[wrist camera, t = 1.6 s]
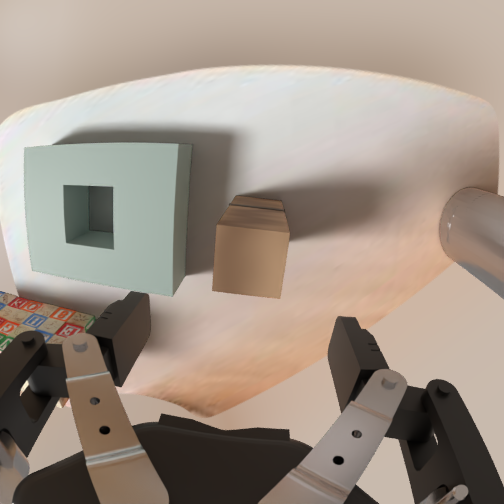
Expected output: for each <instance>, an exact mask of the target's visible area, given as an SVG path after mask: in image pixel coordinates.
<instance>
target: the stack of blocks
mask: <svg viewBox="0 0 504 504" xmlns="http://www.w3.org/2000/svg"><path fill="white" fill-rule="evenodd" d="M94 322H95V316H93V315H89V314H85V313H81V312H77V311H74V310H70V309H66V308H62V307H58V306H54V305H51V304H47V303H44V304H43V303H40V302H36V301H32V300H28V299H24V298H21V297H18V296H15V295H12V294H9V293H5V292H2V291H0V353H1V352H2V351H3V350H4V349H5V348H6V347H7V346H8V344H9V343H10V342H11V341H12V340H13V339H14V338H15V337H16V336H17V335H19V334H20V333H22V332H25V331H31V330H33V331H38V332H40V333H42V334H43V336H44V338H45V342H46V343H49V344H63V342H64V340H65V339H66V338H67V337H69V336H71V335H73V334H77V333H86V332H87V330H88V329H89V328H90V327H91V326H92V325H93V323H94ZM28 385H29V384H28V381H26V382H25V384H24V385H23V387H22V388H21V391H23V392H24V390H25V389H26V387H27V386H28ZM68 399H69V398H60V399H59V401H58V403H57V404H56V406H57V407H60V408H63V407H64V405H65V404H66V402H67V401H68Z"/></svg>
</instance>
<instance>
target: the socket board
mask: <svg viewBox="0 0 504 504" xmlns="http://www.w3.org/2000/svg"><path fill="white" fill-rule="evenodd" d="M192 146H193V144H174V143H82V144H62V145H48V146H36V147H25V148H24V197H25V215H26V227H27V237H28V246H29V254H30V261H31V268H32V271H35V272H40V273H44V274H49V275H54V276H58V277H63V278H68V279H73V280H78V281H83V282H89V283H94V284H99V285H105V286H110V287H116V288H122V289H128V290H134V291H140V292H146V293H152V294H158V295H165V296H171V297H173V295H174V294H175V292H176V290H177V289H178V287H179V285H180V284H181V282H182V281H183V279H184V277H185V267H186V238H187V217H188V199H189V184H190V170H191V158H192ZM89 186H108V187H113V229H114V233H110V232H101V231H92V230H89Z"/></svg>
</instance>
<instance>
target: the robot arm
mask: <svg viewBox="0 0 504 504" xmlns="http://www.w3.org/2000/svg"><path fill="white" fill-rule="evenodd" d="M440 241H441V245H442V247H443V250H444V251H445V253H446V254H447V256H448V257H450V258H451V259H452V260H453V261H455V262H456V263H457V264H459V265H460V266H462V267H463V268H464V269H466V270H467V271H468V272H469V273H471V274H472V275H473V276H475V277H476V278H477V279H479V280H480V281H481V282H483V283H484V284H485V285H487V286H488V287H489V288H490V289H492V290H493V291H494V292H495V293H497V294H498V295H499V296H500V297H502V298H503V299H504V197H503V196H500V195H497V194H494V193H491V192H487V191H484V190H480V189H477V188H465V189H462V190H460V191H458V192H457V193H456V194H455V195H454V196H452V197H451V199H450V200H449V202H448V203H447V204H446V207H445V209H444V211H443V214H442V217H441V221H440ZM150 330H151V319H150V301H149V295H148V294H147V293H140V292H134V291H131V292H130V293H129V294H128V295H127V296H126V297H125V299H124V300H123V301H121V300H118V301H116V302H114V303H112V304H111V305H109V306H108V307H107V309H106V310H105V311H104V313H102V314H101V315H100V318H98V319H97V320H96V321H95V322H94V323H93V325H92V326H91V327H90V328H89V329H88V330H87V332H86V333H77V334H73V335H71V336H69V337H67V338H66V339H65V340H64V342H63V344H49V343H46V342H45V338H44V336H43V334H42V333H40V332H38V331H33V330H31V331H25V332H22V333H20V334H19V335H17V336H16V337H15V338H14V339H13V340H12V341H11V342H10V343H9V344H8V346H7V347H6V348H5V349H4V350H3V351H2V352H1V353H0V504H379V503H378V502H376V501H375V500H374V499H373V498H371V497H370V496H369V495H368V494H367V493H365V492H364V491H363V490H362V489H361V488H359V487H358V486H357V485H356V483H357V481H358V480H359V478H360V477H361V475H362V473H363V472H364V470H365V468H366V467H367V465H368V464H369V462H370V460H371V458H372V457H373V455H374V454H375V452H376V450H377V448H378V446H379V445H380V443H381V441H382V439H383V437H389V438H395V439H398V440H399V443H400V447H401V450H402V454H403V458H404V461H405V465H406V469H407V473H408V476H409V481H410V484H411V489H412V493H413V497H414V502H415V504H504V487H503V484H502V481H501V479H500V477H499V474H498V472H497V470H496V467H495V465H494V463H493V460H492V458H491V456H490V454H489V452H488V450H487V447H486V445H485V443H484V441H483V439H482V437H481V435H480V433H479V431H478V429H477V427H476V425H475V423H474V421H473V419H472V417H471V415H470V413H469V412H468V409H467V408H466V406H465V404H464V402H463V400H462V398H461V397H460V395H459V393H458V391H457V389H456V388H455V387H454V386H453V385H452V384H451V383H449V382H447V381H444V380H439V379H436V380H432V381H430V382H429V383H428V385H427V387H426V389H423V388H417V387H412V386H408V385H407V381H406V379H405V378H404V377H403V376H402V375H401V374H400V373H398V372H396V371H393V370H390V369H389V367H388V365H387V363H386V360H385V358H384V356H383V354H382V352H381V351H380V348H379V346H378V345H377V343H376V340H375V338H374V336H373V335H371V334H370V333H369V332H368V331H367V330H366V329H361V327H360V325H359V323H358V321H357V319H356V318H355V317H343V316H338V317H337V319H336V322H335V326H334V330H333V333H332V337H331V340H330V344H329V348H328V361H329V365H330V369H331V373H332V377H333V381H334V385H335V389H336V393H337V397H338V402H339V406H340V410H341V415H340V416H339V418H338V419H337V420H336V421H335V423H334V424H333V425H332V427H331V428H330V429H329V430H328V431H327V433H326V434H325V435H324V436H323V438H322V439H321V440H320V441H319V442H318V444H317V445H316V446H315V447H314V448H312V447H311V446H309V445H307V444H305V443H302V442H300V441H297V440H294V439H290V434H289V429H288V430H287V429H270V428H249V429H239V430H221V429H218V428H215V427H211V426H209V425H206V424H203V423H201V422H198V421H195V420H193V419H187V418H181V417H177V416H171V415H166V414H161V416H160V419H159V422H147V423H142V424H137V425H134V426H132V425H131V423H130V421H129V419H128V416H127V414H126V412H125V409H124V407H123V405H122V402H121V400H120V397H119V395H118V392H117V390H116V387H115V386H118V387H122V385H123V384H124V382H125V380H126V378H127V376H128V374H129V372H130V371H131V369H132V367H133V365H134V363H135V361H136V360H137V358H138V356H139V354H140V352H141V351H142V349H143V347H144V345H145V343H146V342H147V340H148V338H149V335H150ZM26 381H28V384H29V385H28V386H27V387H26V389H25V390H24V392H23V393H22V394H21V396H20V391H21V388H22V387H23V385H24V384H25V382H26ZM60 398H70V403H71V407H72V411H73V416H74V420H75V424H76V427H77V431H78V435H79V438H80V442H81V445H82V448H83V451H81V452H79V453H76V454H74V455H73V456H70V457H68V458H66V459H64V460H61V461H59V462H57V463H55V464H53V465H50V466H48V467H45V468H43V469H41V470H38V471H36V472H34V473H32V474H30V475H28V474H29V469H30V467H29V462H28V460H27V457H28V455H29V453H30V451H31V449H32V447H33V445H34V444H35V442H36V440H37V438H38V436H39V434H40V433H41V430H42V429H43V427H44V425H45V424H46V422H47V420H48V418H49V416H50V415H51V413H52V411H53V410H54V408H55V406H56V404H57V403H58V401H59V399H60ZM434 433H435V434H436V437H437V440H438V445H437V442H436V439H435V437H434Z"/></svg>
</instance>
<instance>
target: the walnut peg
mask: <svg viewBox="0 0 504 504" xmlns="http://www.w3.org/2000/svg"><path fill="white" fill-rule="evenodd" d="M289 238H290V231H289V227H288V223H287V219H286V216H285V209H284V208H283V205H282V201H279V200H271V199H262V198H254V197H244V196H235V198H234V199H233V201H232V202H231V203H230V204H229V207H228V208H227V210H226V211H225V213H224V214H223V216H222V217H221V219H220V220H219V222H218V223H217V226H216V240H215V254H214V269H213V286H212V291H217V292H225V293H233V294H241V295H250V296H258V297H267V298H277V299H280V296H281V290H282V284H283V277H284V271H285V264H286V258H287V251H288V245H289Z"/></svg>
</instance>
